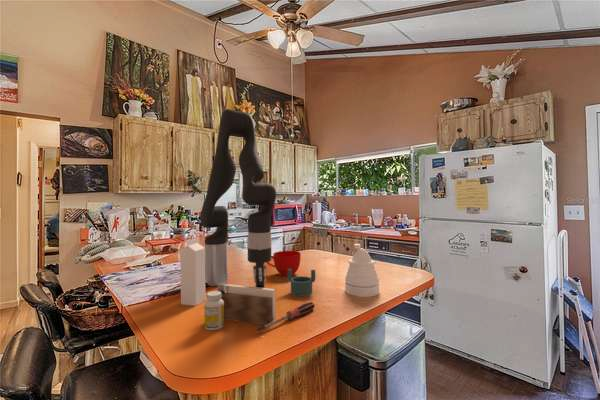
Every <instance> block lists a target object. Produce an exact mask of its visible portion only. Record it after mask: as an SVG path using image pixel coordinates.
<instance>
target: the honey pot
mask: <svg viewBox="0 0 600 400" xmlns="http://www.w3.org/2000/svg"><path fill="white" fill-rule="evenodd" d="M353 247H354V249H355V250H356V251H355V252H354V255H353V256H352V258H350V259H349V260H348V261H347V262H348V264H349V266H348V267H347V272H346V275H345V277H344V279H345V283H344V285H345V286H344V287H345V289H344V290H345V292H346V293H347V294H349V295H351V296H353V297H354V296H355V297H362V298H367V297H368V298H369V297H374V296H377V295H379V294H380V278H379V276H378V273H377V269H376V267H375V265H374V264H375V261H374V260H373V259H372V258H371V256H370V253H369V252H368V251H367V250H366V249H365V248H362V247H361V244H360V243H355V244H353Z"/></svg>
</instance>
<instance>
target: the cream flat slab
mask: <svg viewBox="0 0 600 400" xmlns="http://www.w3.org/2000/svg"><path fill="white" fill-rule="evenodd" d="M216 289H217V290H216V291H225V293H232V294H240V295H249V296H258V297H266V298H272V322H273V321H276V288H268V287H265V288H260V287H255V286H248V285H239V284H231V283H219V284H217V286H216Z"/></svg>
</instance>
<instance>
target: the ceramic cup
mask: <svg viewBox="0 0 600 400" xmlns="http://www.w3.org/2000/svg"><path fill="white" fill-rule="evenodd" d="M301 255H302V253H301V252H300V251H297V250H296V251H294V250H281V251H280V250H279V251H276V252H274V253H273V254H272V255H271V259H272V260H273V262H274V264H272V263H270V261H269V262H266V264H268V266H271V267H273V268H275V269H276V271H277V273H279V274H280V276H283V277H288V269H292V276H294V275H295V273H296V272H297V271H298V270H299V267H300V263H301V257H302V256H301Z"/></svg>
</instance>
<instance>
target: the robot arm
mask: <svg viewBox="0 0 600 400" xmlns="http://www.w3.org/2000/svg"><path fill="white" fill-rule="evenodd" d="M230 137H234V138H235V137H237V138H242V139H244V145H243V146H242V149H241V151H240V152H239V156H238V164H239V165H238V166H239V169H240V172H241V176H242V193H241V197H242V201H243V202H244V203H245V204H246V205H248V206H260V207H261V208H260V209H259V211H256V212H252V213H250V214H249V215H248V219H247V220H248V222H247V225H248V226H247V228H248V230H247V240H246V241H247V261H248V262H249V263H252V264H255V265H253V269H252V271H253V281H254V284H255V286H254V287H260V288H266V286H265V283H266V273H267V266H266V264H265V263H267V262H269V263H270V262H271V260H272V257H271V256H272V234H271V230H272V229H271V227H272V225H271V224H272V223H271V219H272V218H271V217H272V215H273V210H274V206H275V201H276V199H277V190H276V187H275V186H274V185H273V183H270V182H260V181H262V180H263V179H264V176H265V173H264V168H263V165H262V162H261V160H260V156H259V152H258V146H257V139H256V138H257V137H256V131H255V124H254V120H253V116H251V114H250V113H248V112H245V111H240V110H235V109H229V108H227V109H224V110H223V112H222V113H221V116H220V120H219V128H218V134H217V141H216V142H217V143H216V148H215V153H214V157H213V162H212V165H211V170H210V175H209V180H208V186H207V191H206V193H205V198H204V201H203V205H202V207H201V212H200V217H199V218H200V220H199V222H200V225H201V226H202V227H203V228H205V229H210V228H212V229H214V228H216V230H215V231H214V232H213V233H211V234H209V235H207V236H205V237H204V248H205V281H206V282H207V283H208V285H209V286H211V287H213V286H214V287H215V286H216V287H217V284H219V283H226V284H228V237H229V236H228V231H229V228H228V227H229V211H228V208H227V207H226V206H224V205H217V202H218V201H219V199H221V197H223V196H224V195H225V194H226V193H227V192H228V191H229V190H230V188H231V187H232V186H233V183H234V181H235V177H236V172H237V167H236V166H237V165H236V163H235V160H234V158H233V155H232V154H231V150H230V147H229V146H230V145H229V142H230V141H229V140H230ZM264 264H265V265H264ZM208 285H207V286H208ZM209 286H208V287H209Z"/></svg>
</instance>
